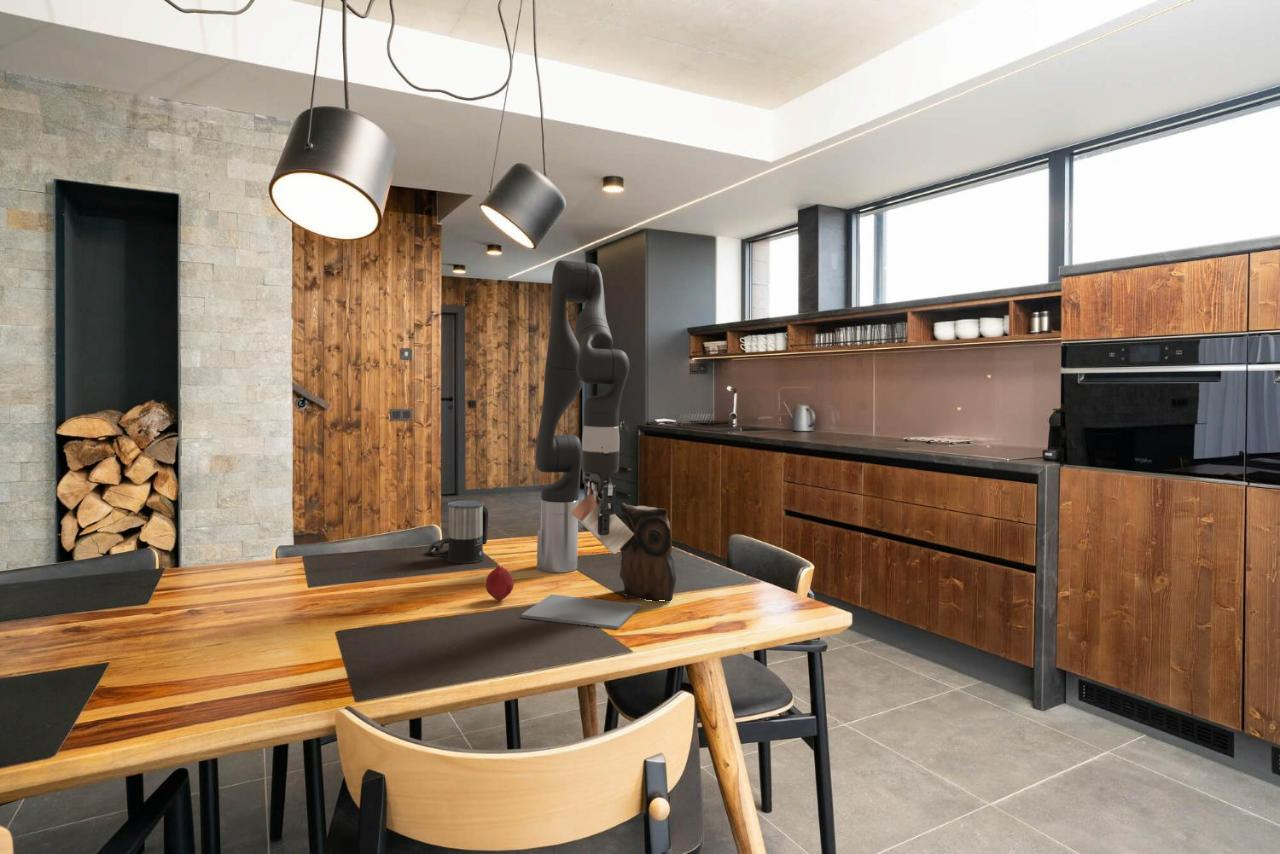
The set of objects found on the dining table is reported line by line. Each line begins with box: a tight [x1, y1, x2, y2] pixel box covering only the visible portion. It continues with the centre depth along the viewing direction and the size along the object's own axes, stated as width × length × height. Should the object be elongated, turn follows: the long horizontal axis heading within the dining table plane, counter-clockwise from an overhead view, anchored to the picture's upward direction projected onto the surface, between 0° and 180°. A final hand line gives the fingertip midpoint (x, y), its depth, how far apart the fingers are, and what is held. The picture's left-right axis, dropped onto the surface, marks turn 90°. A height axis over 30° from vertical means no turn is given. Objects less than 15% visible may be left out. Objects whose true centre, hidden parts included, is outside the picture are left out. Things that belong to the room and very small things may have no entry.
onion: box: [484, 562, 515, 602], centre depth 156 cm, size 6×6×8 cm
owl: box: [619, 502, 677, 602], centre depth 163 cm, size 13×13×20 cm
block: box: [571, 494, 634, 555], centre depth 151 cm, size 6×6×11 cm
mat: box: [520, 594, 641, 630], centre depth 150 cm, size 20×15×1 cm
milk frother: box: [427, 500, 489, 564], centre depth 194 cm, size 14×16×15 cm
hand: (598, 531), depth 151 cm, fingers closed on block, 5 cm apart
